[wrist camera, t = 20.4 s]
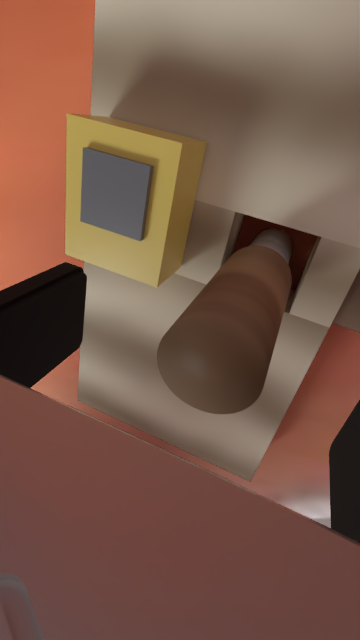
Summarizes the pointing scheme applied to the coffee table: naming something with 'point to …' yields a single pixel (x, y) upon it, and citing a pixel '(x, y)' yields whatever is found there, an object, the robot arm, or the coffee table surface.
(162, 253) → the block
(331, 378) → the coffee table surface
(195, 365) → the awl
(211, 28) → the board
